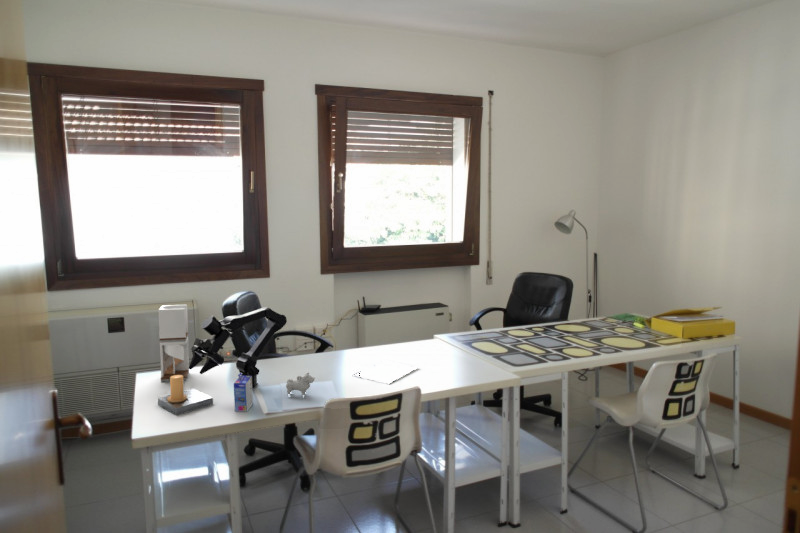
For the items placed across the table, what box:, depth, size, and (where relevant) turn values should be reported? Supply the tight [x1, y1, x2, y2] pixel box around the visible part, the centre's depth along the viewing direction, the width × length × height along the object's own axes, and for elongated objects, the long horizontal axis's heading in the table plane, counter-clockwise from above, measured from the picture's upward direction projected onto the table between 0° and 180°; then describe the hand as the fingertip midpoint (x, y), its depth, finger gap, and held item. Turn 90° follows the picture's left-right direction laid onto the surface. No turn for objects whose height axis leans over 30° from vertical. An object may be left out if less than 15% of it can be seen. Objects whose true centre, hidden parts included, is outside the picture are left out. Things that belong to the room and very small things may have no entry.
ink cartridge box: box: [233, 372, 254, 412], centre depth 219 cm, size 10×6×14 cm, turn 2°
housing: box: [157, 388, 214, 416], centre depth 221 cm, size 16×16×3 cm
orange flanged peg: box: [167, 375, 187, 404], centre depth 218 cm, size 8×8×13 cm
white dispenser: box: [158, 304, 190, 383], centre depth 253 cm, size 11×11×35 cm
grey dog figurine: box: [285, 372, 316, 396], centre depth 233 cm, size 5×13×11 cm, turn 89°
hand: (194, 371), depth 223 cm, fingers open, 9 cm apart
